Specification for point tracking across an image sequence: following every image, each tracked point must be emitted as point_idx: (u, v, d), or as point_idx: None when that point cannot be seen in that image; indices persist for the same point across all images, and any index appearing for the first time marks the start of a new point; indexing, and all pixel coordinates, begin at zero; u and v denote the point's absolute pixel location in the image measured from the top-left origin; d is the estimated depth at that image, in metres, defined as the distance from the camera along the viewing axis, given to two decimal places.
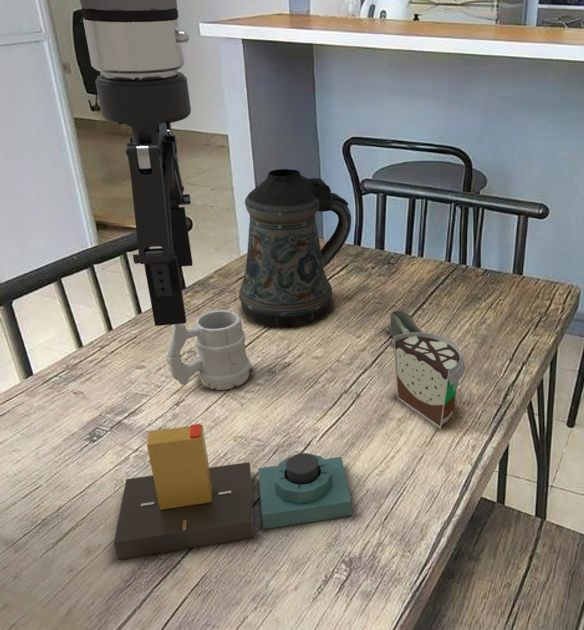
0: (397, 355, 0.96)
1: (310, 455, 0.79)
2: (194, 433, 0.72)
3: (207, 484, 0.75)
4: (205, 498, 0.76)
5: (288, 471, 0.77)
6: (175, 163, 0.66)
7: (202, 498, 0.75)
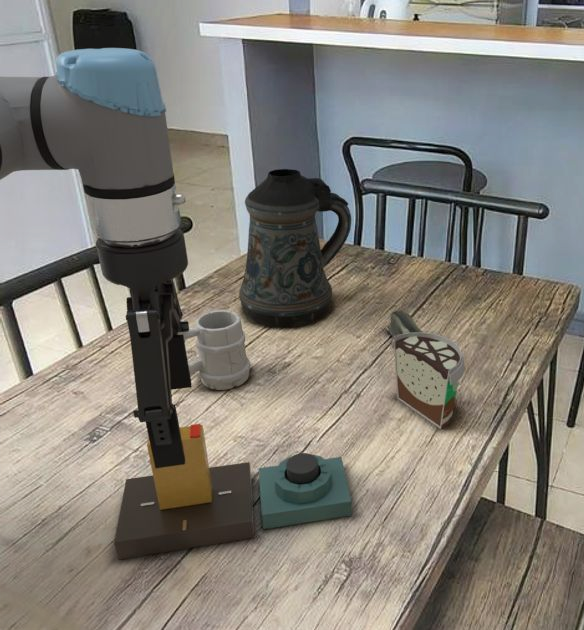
0: (397, 355, 0.96)
1: (310, 455, 0.79)
2: (194, 433, 0.72)
3: (207, 484, 0.75)
4: (205, 498, 0.76)
5: (288, 471, 0.77)
6: (173, 305, 0.68)
7: (202, 498, 0.75)
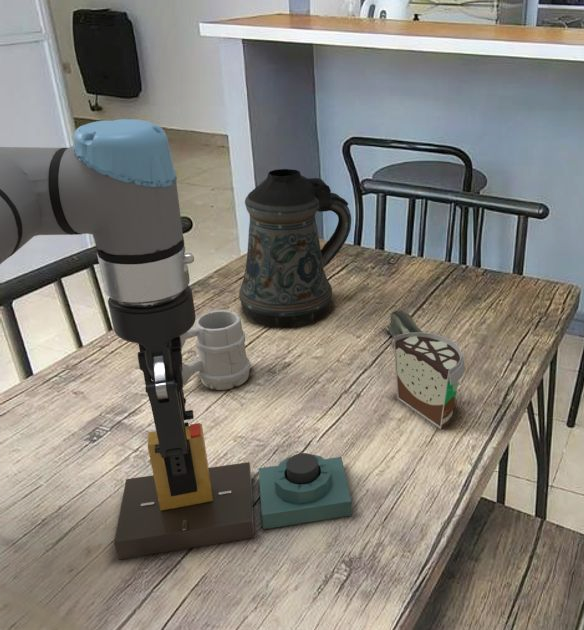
0: (397, 355, 0.96)
1: (310, 455, 0.79)
2: (194, 432, 0.72)
3: (208, 483, 0.75)
4: (206, 497, 0.76)
5: (288, 471, 0.77)
6: None
7: (203, 497, 0.76)
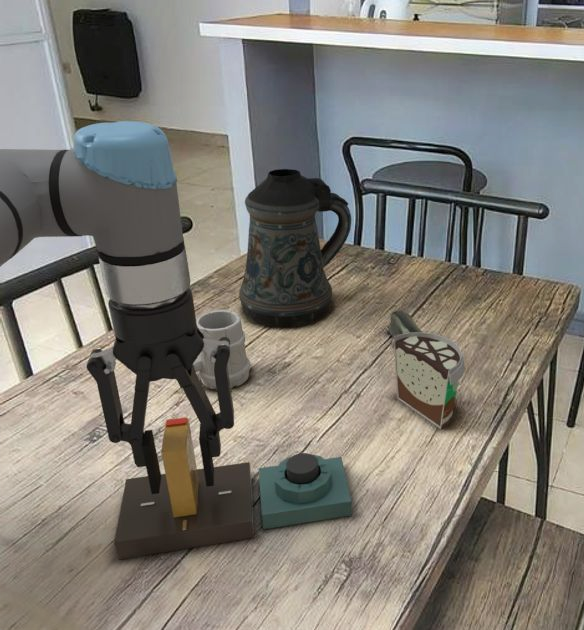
0: (397, 355, 0.96)
1: (310, 455, 0.79)
2: (181, 420, 0.74)
3: None
4: (198, 479, 0.78)
5: (288, 471, 0.77)
6: None
7: (197, 481, 0.78)
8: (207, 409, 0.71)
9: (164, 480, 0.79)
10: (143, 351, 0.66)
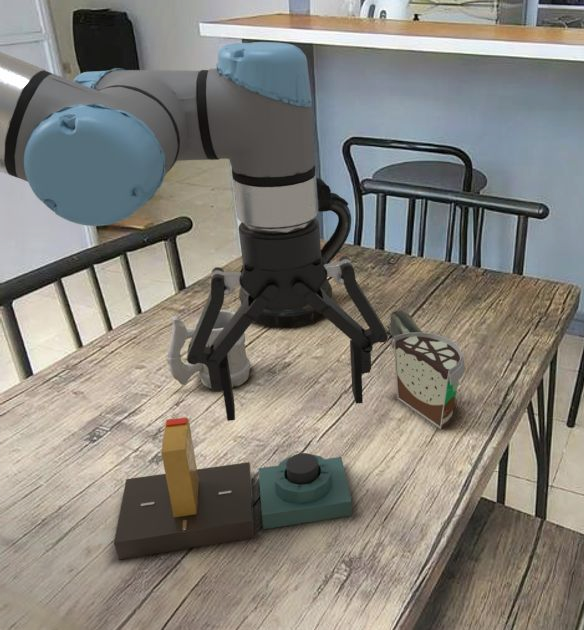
0: (397, 355, 0.96)
1: (310, 455, 0.79)
2: (181, 420, 0.74)
3: None
4: (198, 479, 0.78)
5: (288, 471, 0.77)
6: None
7: (197, 481, 0.78)
8: (352, 325, 0.70)
9: (164, 480, 0.79)
10: (273, 280, 0.66)
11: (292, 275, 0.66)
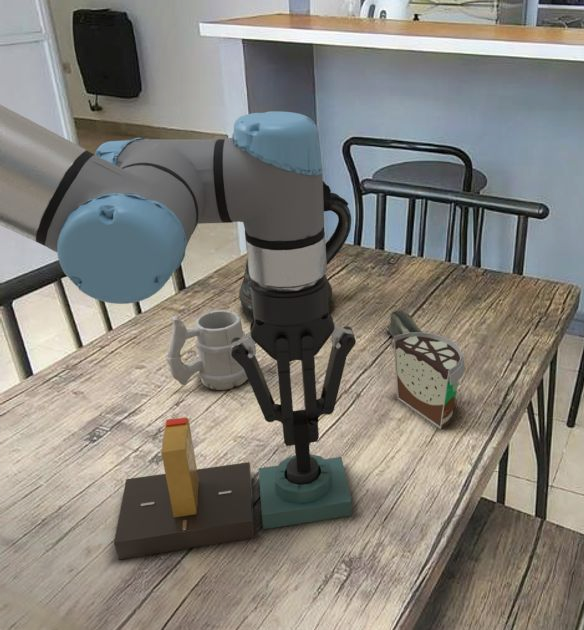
0: (397, 355, 0.96)
1: (310, 457, 0.79)
2: (181, 420, 0.74)
3: None
4: (198, 479, 0.78)
5: (288, 473, 0.77)
6: None
7: (197, 481, 0.78)
8: None
9: (164, 480, 0.79)
10: (278, 334, 0.68)
11: None
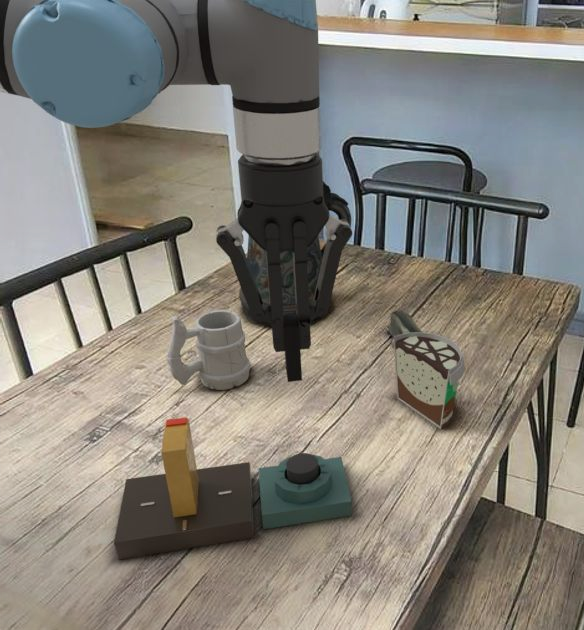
0: (397, 355, 0.96)
1: (310, 455, 0.79)
2: (181, 420, 0.74)
3: None
4: (198, 479, 0.78)
5: (288, 471, 0.77)
6: None
7: (197, 481, 0.78)
8: (308, 294, 0.68)
9: (164, 480, 0.79)
10: (268, 219, 0.63)
11: None
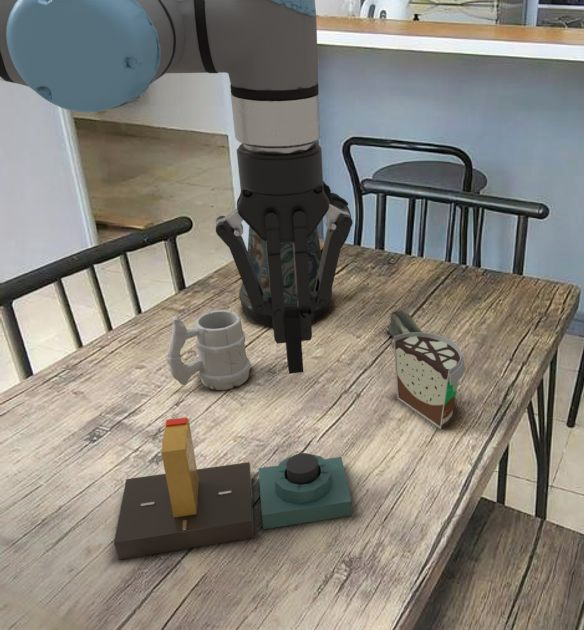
0: (397, 355, 0.96)
1: (310, 455, 0.79)
2: (181, 420, 0.74)
3: None
4: (198, 479, 0.78)
5: (288, 471, 0.77)
6: None
7: (197, 481, 0.78)
8: None
9: (164, 480, 0.79)
10: (267, 209, 0.62)
11: None
